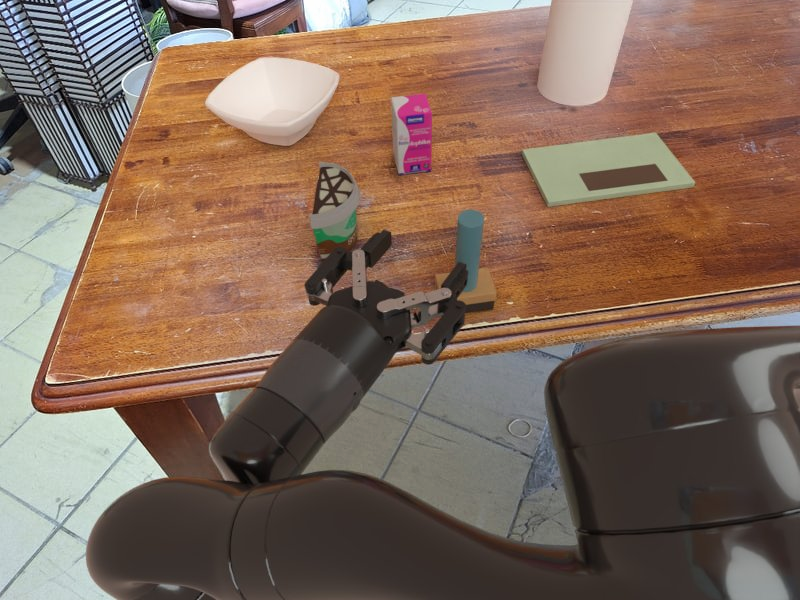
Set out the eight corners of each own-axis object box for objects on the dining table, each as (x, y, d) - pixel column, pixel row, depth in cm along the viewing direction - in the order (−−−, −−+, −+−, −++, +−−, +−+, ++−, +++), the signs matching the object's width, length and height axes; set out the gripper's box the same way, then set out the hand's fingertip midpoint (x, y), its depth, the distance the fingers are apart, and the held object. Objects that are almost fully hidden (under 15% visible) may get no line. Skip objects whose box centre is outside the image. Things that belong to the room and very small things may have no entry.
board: (653, 137, 93) (655, 132, 92) (693, 187, 84) (695, 182, 83) (521, 154, 91) (522, 149, 90) (547, 207, 83) (548, 202, 82)
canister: (533, 70, 109) (550, -39, 93) (599, 69, 108) (628, -42, 92) (541, 106, 100) (562, -7, 85) (614, 105, 100) (648, -10, 84)
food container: (362, 268, 76) (355, 216, 68) (320, 269, 76) (308, 217, 68) (367, 211, 84) (361, 158, 76) (328, 211, 84) (318, 159, 76)
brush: (485, 284, 73) (496, 200, 61) (494, 310, 70) (507, 227, 59) (434, 291, 73) (436, 208, 61) (441, 317, 70) (443, 236, 58)
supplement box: (398, 177, 89) (395, 116, 80) (393, 156, 92) (389, 95, 83) (432, 172, 89) (432, 111, 80) (425, 152, 93) (425, 91, 84)
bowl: (205, 148, 96) (188, 106, 89) (269, 92, 108) (258, 51, 101) (300, 176, 90) (290, 132, 83) (358, 113, 101) (353, 70, 95)
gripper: (394, 391, 38) (494, 251, 46) (248, 311, 43) (362, 198, 51) (398, 435, 44) (486, 304, 52) (269, 360, 49) (368, 252, 57)
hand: (424, 251), depth 52 cm, fingers open, 8 cm apart
